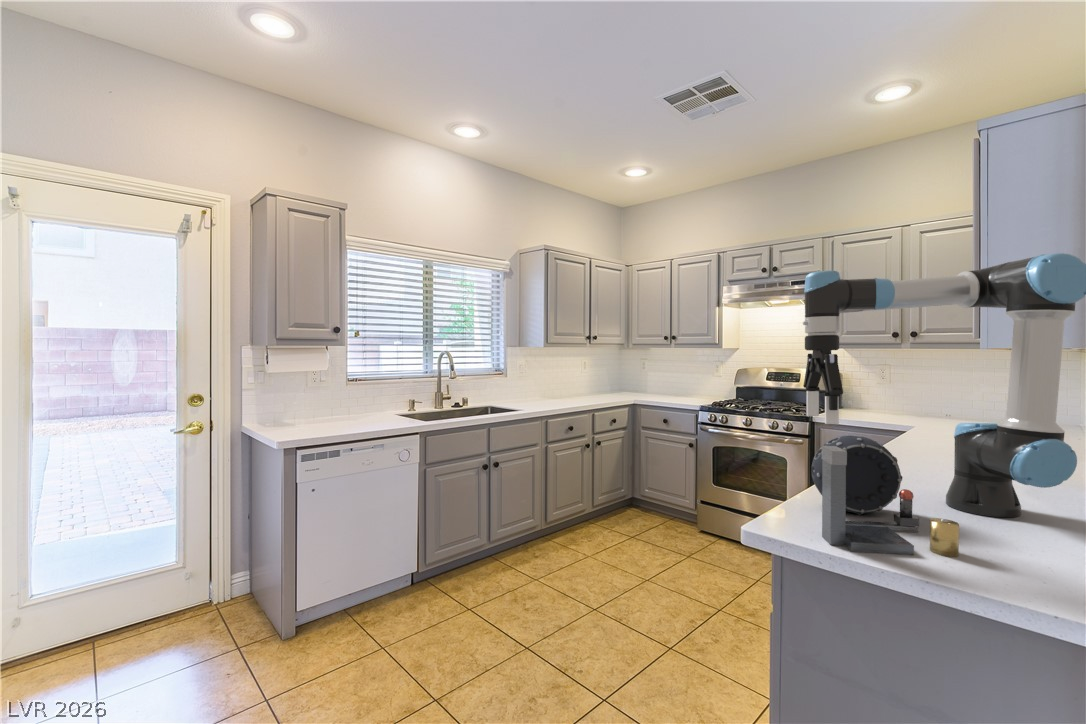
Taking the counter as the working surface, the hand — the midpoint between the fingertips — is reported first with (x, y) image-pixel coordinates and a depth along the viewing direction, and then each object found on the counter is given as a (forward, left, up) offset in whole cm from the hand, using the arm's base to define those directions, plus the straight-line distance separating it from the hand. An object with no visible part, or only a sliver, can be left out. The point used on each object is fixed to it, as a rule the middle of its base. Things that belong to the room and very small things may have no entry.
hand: (821, 419), depth 125 cm
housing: (-18, +16, -26) cm, 36 cm away
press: (-8, +11, -26) cm, 29 cm away
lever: (-17, +3, -24) cm, 30 cm away
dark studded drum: (-11, -10, -26) cm, 30 cm away
